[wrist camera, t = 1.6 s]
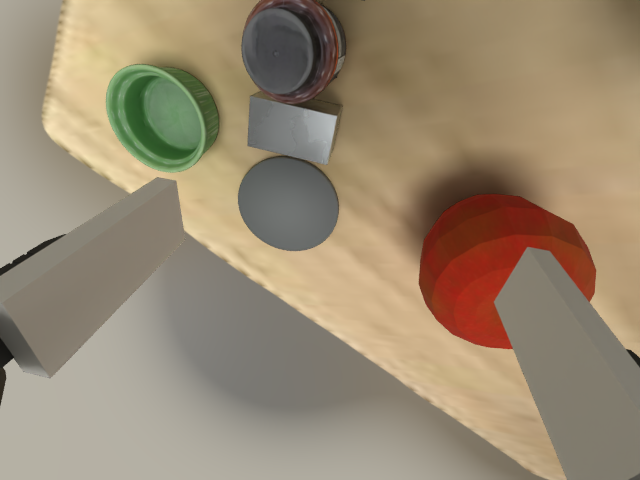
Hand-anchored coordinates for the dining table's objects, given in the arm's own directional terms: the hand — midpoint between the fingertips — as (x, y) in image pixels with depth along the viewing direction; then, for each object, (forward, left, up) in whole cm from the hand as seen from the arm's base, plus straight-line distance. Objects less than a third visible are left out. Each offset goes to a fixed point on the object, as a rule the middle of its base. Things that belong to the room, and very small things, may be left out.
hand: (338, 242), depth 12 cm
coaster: (+10, -6, -20) cm, 23 cm away
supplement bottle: (-5, -6, -20) cm, 21 cm away
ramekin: (+3, -17, -20) cm, 27 cm away
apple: (+7, +13, -20) cm, 25 cm away
